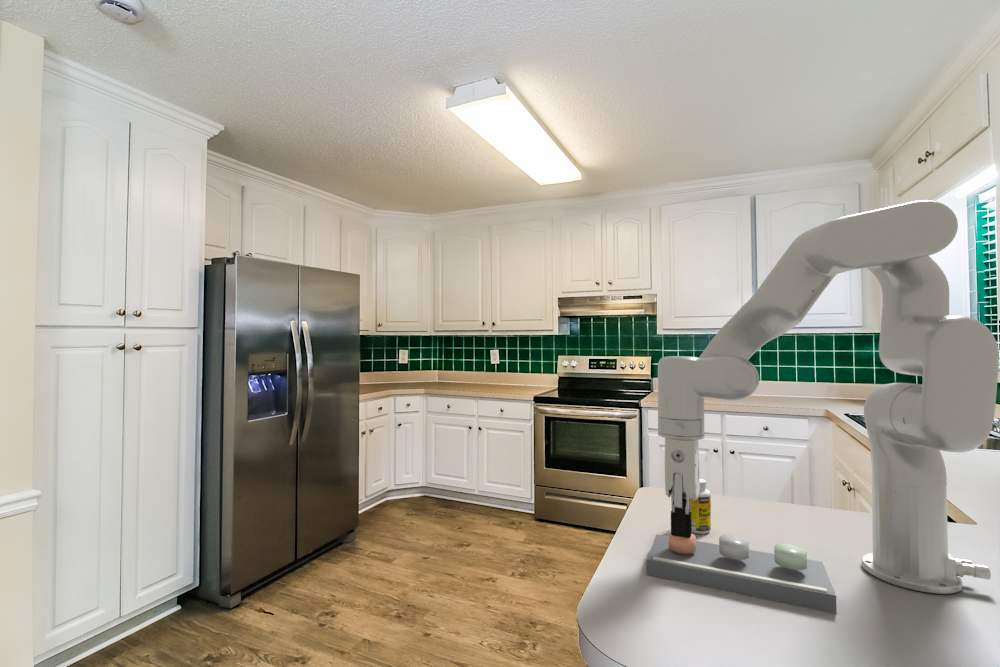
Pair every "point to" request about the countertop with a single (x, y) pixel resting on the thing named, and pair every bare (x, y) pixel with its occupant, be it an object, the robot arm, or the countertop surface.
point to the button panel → (744, 575)
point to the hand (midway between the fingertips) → (681, 534)
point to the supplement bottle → (701, 510)
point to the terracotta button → (682, 544)
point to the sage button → (790, 556)
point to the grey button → (734, 547)
